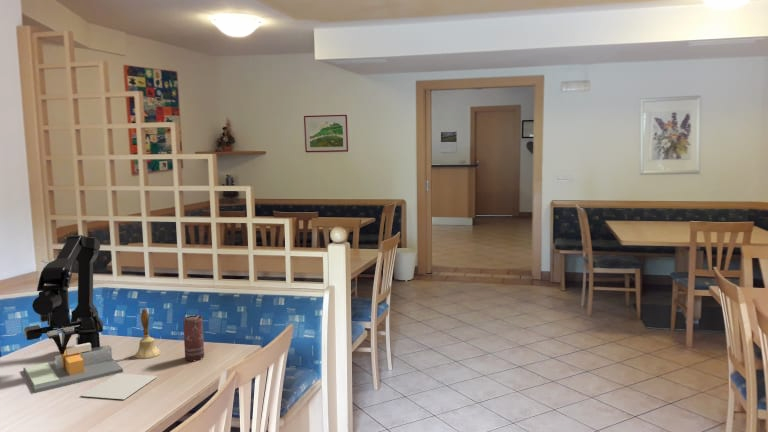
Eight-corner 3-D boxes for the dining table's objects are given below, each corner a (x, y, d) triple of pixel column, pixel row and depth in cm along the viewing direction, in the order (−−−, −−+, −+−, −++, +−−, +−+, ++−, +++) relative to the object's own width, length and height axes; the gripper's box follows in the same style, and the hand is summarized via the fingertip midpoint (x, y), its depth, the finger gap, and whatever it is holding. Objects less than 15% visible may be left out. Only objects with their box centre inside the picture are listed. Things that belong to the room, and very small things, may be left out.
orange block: (74, 359, 190) (73, 348, 190) (84, 372, 179) (83, 359, 179) (60, 362, 187) (59, 350, 187) (69, 375, 177) (69, 362, 176)
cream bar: (89, 348, 187) (89, 342, 187) (91, 350, 186) (91, 344, 185) (65, 353, 183) (65, 347, 183) (67, 355, 181) (66, 349, 181)
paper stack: (186, 380, 176) (186, 378, 176) (137, 417, 151) (137, 415, 151) (117, 375, 180) (117, 373, 180) (58, 411, 155) (58, 408, 155)
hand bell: (136, 360, 192) (133, 313, 190) (133, 353, 199) (130, 308, 197) (162, 356, 196) (160, 310, 194) (158, 348, 203) (156, 304, 201)
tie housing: (109, 357, 192) (108, 344, 191) (112, 360, 189) (111, 347, 189) (55, 369, 182) (54, 356, 181) (57, 372, 179) (56, 358, 179)
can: (208, 355, 195) (206, 315, 194) (196, 362, 189) (194, 320, 188) (193, 353, 197) (191, 314, 196) (181, 360, 191) (179, 319, 190)
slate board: (104, 353, 199) (104, 350, 199) (123, 371, 182) (122, 368, 182) (23, 370, 184) (23, 367, 183) (35, 392, 167) (35, 389, 167)
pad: (47, 363, 187) (47, 362, 187) (59, 380, 173) (59, 379, 173) (24, 368, 183) (24, 367, 183) (34, 385, 169) (34, 384, 169)
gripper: (85, 295, 191) (88, 341, 193) (19, 305, 180) (23, 354, 182) (93, 302, 183) (96, 350, 185) (25, 313, 171) (29, 364, 173)
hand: (62, 354), depth 181 cm, fingers closed
